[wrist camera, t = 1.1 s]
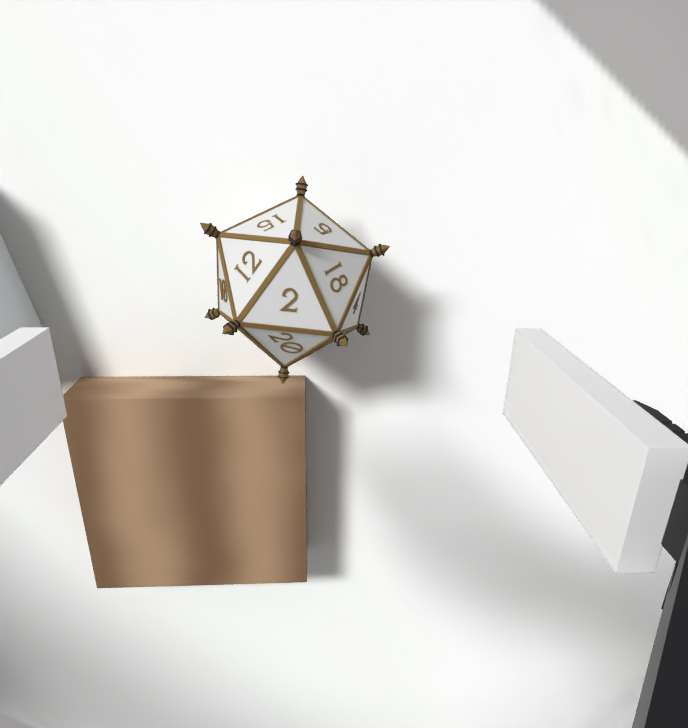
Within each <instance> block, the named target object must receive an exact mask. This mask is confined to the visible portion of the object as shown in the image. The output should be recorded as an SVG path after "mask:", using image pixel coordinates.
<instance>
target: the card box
mask: <svg viewBox="0 0 688 728" xmlns="http://www.w3.org/2000/svg"><path fill="white" fill-rule="evenodd" d="M21 327H42V324H41V322H40V320H39V318H38V315H37V313H36V311H35V309H34V307H33V304H32V302H31V300H30V298H29V295H28V293H27V291H26V289H25V286H24V284H23V282H22V280H21V277H20V275H19V273H18V271H17V268H16V266H15V264H14V262H13V260H12V257H11V255H10V253H9V251H8V248H7V246H6V244H5V242H4V239H3V237H2V235H1V233H0V339H2V338H3V337H5V336H7V335H9V334H10V333H12V332H14V331H15V330H17V329H19V328H21Z"/></svg>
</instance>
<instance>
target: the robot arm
mask: <svg viewBox="0 0 688 728" xmlns="http://www.w3.org/2000/svg"><path fill="white" fill-rule="evenodd" d="M503 415H504V416H505V417H506V419H507V420H508V422H509V423H510V424H511V426H512V427H513V429H514V430H515V432H516V433H517V434H518V436H519V437H520V439H521V440H522V441H523V443H524V444H525V446H526V447H527V449H528V450H529V451H530V453H531V454H532V456H533V457H534V458H535V460H536V461H537V463H538V464H539V465H540V467H541V468H542V470H543V471H544V473H545V474H546V475H547V477H548V478H549V480H550V481H551V482H552V484H553V485H554V487H555V488H556V490H557V491H558V492H559V494H560V495H561V497H562V498H563V499H564V501H565V502H566V504H567V505H568V507H569V508H570V509H571V511H572V512H573V514H574V515H575V516H576V518H577V519H578V521H579V522H580V524H581V525H582V526H583V528H584V529H585V531H586V532H587V533H588V535H589V536H590V538H591V539H592V540H593V542H594V543H595V545H596V546H597V548H598V549H599V550H600V552H601V553H602V555H603V556H604V557H605V559H606V560H607V562H608V563H609V565H610V566H611V567H612V569H613V570H614V572H615V573H655V569H656V566H657V563H658V560H659V556H660V553H661V550H662V546H663V547H664V548H665V549H666V550H667V552H668V553H669V554H670V555H671V556H672V557H673V558H674V560H675V561H676V564H675V567H674V570H673V573H672V576H671V580H670V583H669V586H668V589H667V592H666V595H665V598H664V602H663V605H662V608H661V609H663V611H662V615H661V618H660V622H659V626H658V630H657V634H656V638H655V641H654V645H653V649H652V653H651V657H650V661H649V664H648V668H647V672H646V676H645V680H644V684H643V687H642V691H641V695H640V699H639V703H638V707H637V710H636V714H635V718H634V722H633V726H632V728H688V433H687V434H685V431H684V430H683V429H681V428H680V427H679V426H677V425H676V424H672V421H671V420H669V419H668V418H667V417H665V416H664V415H663V414H661V413H660V412H659V411H658V410H656V409H653V408H651V407H649V406H647V405H645V404H642V403H640V402H638V401H636V400H631V399H630V398H629V397H627V396H626V395H625V394H624V393H622V392H621V391H620V390H619V389H617V388H616V387H615V386H614V385H612V384H611V383H610V382H608V381H607V380H606V379H605V378H603V377H602V376H601V375H600V374H598V373H597V372H596V371H594V370H593V369H592V368H591V367H589V366H588V365H587V364H586V363H584V362H583V361H582V360H581V359H579V358H578V357H577V356H575V355H574V354H573V353H572V352H570V351H569V350H568V349H567V348H565V347H564V346H563V345H561V344H560V343H559V342H558V341H556V340H555V339H554V338H553V337H551V336H550V335H549V334H548V333H546V332H545V331H544V330H542V329H515V334H514V341H513V348H512V355H511V362H510V369H509V375H508V382H507V389H506V396H505V403H504V410H503ZM66 417H67V414H66V409H65V404H64V399H63V394H62V389H61V384H60V379H59V374H58V369H57V364H56V359H55V354H54V349H53V344H52V339H51V334H50V329H49V327H21V328H19V329H17V330H15V331H14V332H12V333H10V334H9V335H7V336H5V337H3V338H2V339H0V486H1V485H2V484H3V483H4V481H5V480H6V479H7V478H8V477H9V476H10V475H11V474H12V473H13V472H14V471H15V470H16V469H17V468H18V467H19V466H20V465H21V464H22V463H23V462H24V461H25V460H26V459H27V457H28V456H29V455H30V454H31V453H32V452H33V451H34V450H35V449H36V448H37V447H38V446H39V445H40V444H41V443H42V442H43V441H44V440H45V439H46V438H47V437H48V436H49V434H50V433H51V432H52V431H53V430H54V429H55V428H56V427H57V426H58V425H59V424H60V423H61V422H62V421H63V420H64V419H65V418H66Z"/></svg>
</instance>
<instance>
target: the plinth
mask: <svg viewBox="0 0 688 728" xmlns="http://www.w3.org/2000/svg"><path fill="white" fill-rule="evenodd" d="M288 377H289V378H287V380H286V381H285V382H284V383H283V384H282V382H281V381H280V379H279V377H278V376H181V377H81V378H80V379H79V380H78V381H77V382H76V383H75V384H74V385H73V386H72V387H71V388H70V389H69V390H68V391H67V392H66V393H65V394H64V395H63V399H64V404H65V409H66V414H67V417H66V418H65V419H64V420H63V423H64V428H65V433H66V438H67V443H68V448H69V453H70V457H71V462H72V467H73V472H74V477H75V482H76V487H77V492H78V497H79V501H80V506H81V511H82V516H83V521H84V526H85V531H86V536H87V541H88V545H89V550H90V555H91V560H92V565H93V570H94V575H95V580H96V585H97V588H121V587H155V586H189V585H224V584H258V583H292V582H307V496H306V409H305V376H288Z"/></svg>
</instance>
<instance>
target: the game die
mask: <svg viewBox="0 0 688 728" xmlns="http://www.w3.org/2000/svg"><path fill="white" fill-rule="evenodd" d="M296 185H297V188H296V190H297V196H295V197H293V198H291V199H289V200H287V201H285V202H283V203H281V204H278V205H276V206H274V207H272V208H270V209H268V210H266V211H264V212H262V213H259V214H257V215H255V216H253V217H251V218H249V219H247V220H245V221H243V222H241V223H238V224H236V225H234V226H232V227H230V228H228V229H226V230H224V231H222V232H220V231H218V230H217V229H216V226H215V227H214V226H213V225H212V223H210V224H206V223H200V224H201V226H202V228H203V230H204V234H208V235H209V237H210V236H212V237H215V238H216V245H217V285H218V309H215V308H213V309H212V310H210V309H209V310H208V313H207V314H206V316H205V318H209V319H211V320H213V319H215V318H218V317H219V315H222V316H223V317H224V318H225V319H226V320H227V321H229V323H227V324H225V325H224V326H223V328H224V329H223V334H229V335H234V332H237V329H238V330H239V331H240V332H241V333H243V334H244V335H245V336H246V337H247V338H248V339H250V340H251V341H252V342H253V343H254V344H255V345H257V346H258V347H259V348H260V349H261V350H262V351H264V352H265V353H266V354H267V355H268V356H269V357H271V358H272V359H273V360H274V361H275V362H276V363H278V364H279V365H280V366H281V368H280V371H278V372H279V375H278V377H279V379H280V381H281V382H282V384H283V383H284V382H285V381H286V380H287V378H289V377H288V373H289V372H288V366H290V365H292V364H294V363H296V362H297V361H299V360H301V359H303V358H305V357H306V356H308V355H310V354H312V353H313V352H315V351H317V350H319V349H321V348H322V347H324V346H326V345H328V344H329V343H331V342H333V341H334V342H336V343H337V346H346V347H347V342H348V338H347V337H346V336H345V335H346V334H347V333H349V332H351V331H353V330H354V329H356V330H357V332H358V333H360V334H361V335H363V336H364V335H370V333H369V331H368V326H364V324H359V320H360V315H361V310H362V305H363V300H364V295H365V291H366V286H367V281H368V276H369V271H370V266H371V261H372V257H374V256H378V257H379V256H380V255H383V256H384V253H385V252H386V251H387V249H388V248H389V247H390V246H386V245H381V244H379V245H378V246H374V248H373V249H371V250H369V249H368V248H367V247H366V246H364V245H363V244H362V243H361V242H359V241H358V240H357V239H356V238H354V237H353V236H352V235H351V234H350V233H348V232H347V231H346V230H345V229H343V228H342V227H341V226H340V225H338V224H337V223H336V222H335V221H334V220H332V219H331V218H330V217H329V216H327V215H326V214H325V213H324V212H322V211H321V210H320V209H319V208H318V207H316V206H315V205H314V204H313V203H311V202H310V201H309V200H308V199H306V198H305V196H304V195H305V192H306V191H307V190H306V188H307V186H308V185H307V184H306V182H305V179H304V177H303V176H302V177H301V178H300V180H299V181H298V183H296Z"/></svg>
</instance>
